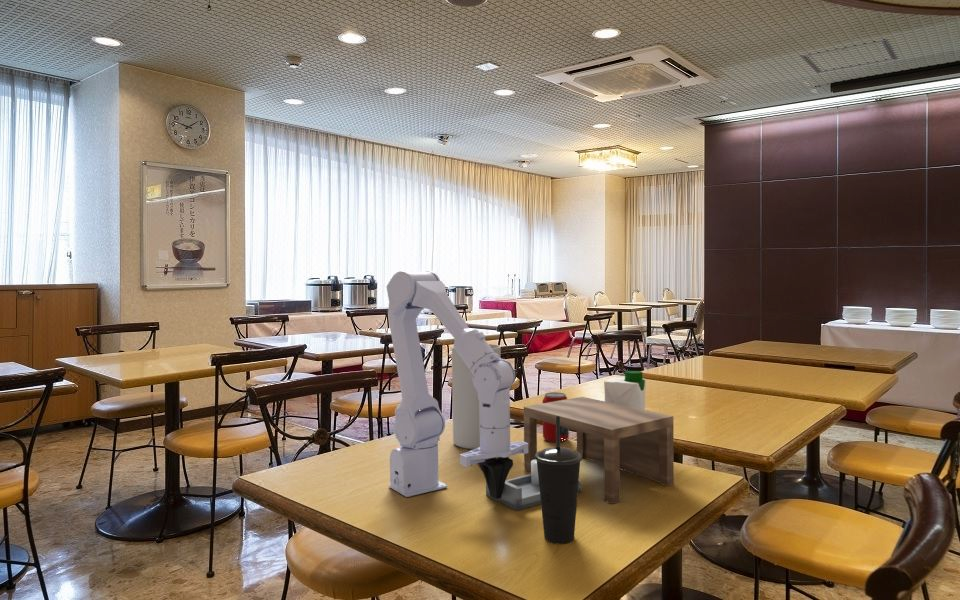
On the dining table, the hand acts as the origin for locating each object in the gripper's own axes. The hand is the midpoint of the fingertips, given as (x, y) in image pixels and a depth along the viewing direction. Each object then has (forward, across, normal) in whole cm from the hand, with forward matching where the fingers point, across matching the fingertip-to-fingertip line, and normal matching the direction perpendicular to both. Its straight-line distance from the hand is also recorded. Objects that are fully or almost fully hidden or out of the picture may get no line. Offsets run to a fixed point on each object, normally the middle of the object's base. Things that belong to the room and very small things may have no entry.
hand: (495, 497), depth 116 cm
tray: (+1, +9, 0) cm, 9 cm away
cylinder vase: (+2, +21, +37) cm, 43 cm away
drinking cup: (+2, 0, -18) cm, 18 cm away
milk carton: (+2, +44, +7) cm, 44 cm away
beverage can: (+2, +39, +27) cm, 48 cm away
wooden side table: (+1, +26, 0) cm, 27 cm away
